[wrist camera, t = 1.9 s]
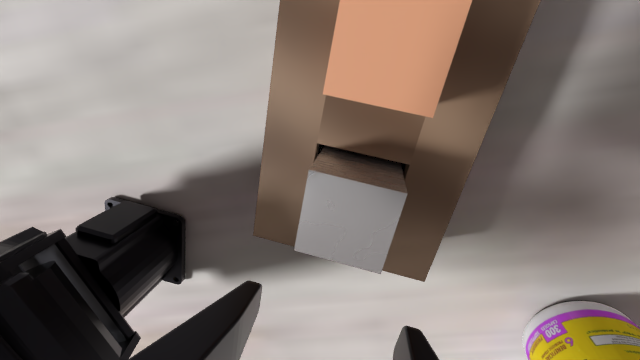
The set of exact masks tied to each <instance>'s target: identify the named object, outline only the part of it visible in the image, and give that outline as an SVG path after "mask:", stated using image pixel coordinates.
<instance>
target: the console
mask: <svg viewBox="0 0 640 360" xmlns="http://www.w3.org/2000/svg"><path fill="white" fill-rule="evenodd" d="M540 1H541V0H472V3H471V6H470V9H469V12H468V15H467V18H466V21H465V24H464V27H463V30H462V33H461V36H460V39H459V42H458V45H457V48H456V51H455V54H454V57H453V60H452V63H451V66H450V69H449V72H448V74H447V77H446V80H445V83H444V86H443V89H442V92H441V95H440V98H439V101H438V104H437V107H436V110H435V113H434V116H433V118H431V117H426V116H421V115H417V114H412V113H407V112H403V111H398V110H393V109H389V108H384V107H380V106H375V105H370V104H366V103H361V102H356V101H352V100H347V99H342V98H338V97H333V96H329V95H324V94H323V90H324V84H325V79H326V73H327V68H328V62H329V57H330V51H331V46H332V40H333V35H334V30H335V24H336V19H337V13H338V8H339V2H340V0H280V6H279V14H278V23H277V32H276V40H275V49H274V58H273V66H272V75H271V84H270V93H269V101H268V110H267V119H266V127H265V136H264V145H263V153H262V162H261V171H260V179H259V188H258V197H257V206H256V214H255V223H254V232H253V236H257V237H260V238H264V239H268V240H272V241H275V242H279V243H283V244H286V245H290V246H294V247H295V242H296V237H297V231H298V226H299V220H300V215H301V210H302V204H303V199H304V193H305V188H306V182H307V177H308V171H309V169H310V167H311V166H312V164H313V163H314V161H315V160H316V158H317V155H318V150H319V144H323V145H327V146H331V147H336V148H340V149H344V150H348V151H353V152H357V153H361V154H366V155H370V156H374V157H379V158H383V159H387V160H391V161H396V162H400V163H404V164H406V166H405V170H404V173H403V176H404V181H405V185H406V189H407V197H406V200H405V203H404V206H403V209H402V212H401V215H400V218H399V221H398V224H397V227H396V230H395V233H394V236H393V239H392V242H391V245H390V248H389V251H388V254H387V257H386V260H385V263H384V266H383V269H382V270H383V271H386V272H390V273H394V274H397V275H401V276H405V277H408V278H412V279H416V280H420V281H423V282H425V279H426V277H427V274H428V272H429V270H430V267H431V265H432V262H433V260H434V257H435V255H436V253H437V250H438V248H439V245H440V243H441V240H442V238H443V236H444V233H445V231H446V228H447V226H448V224H449V221H450V219H451V216H452V214H453V211H454V209H455V207H456V204H457V202H458V199H459V197H460V194H461V192H462V190H463V187H464V185H465V182H466V180H467V178H468V175H469V173H470V170H471V168H472V165H473V163H474V161H475V158H476V156H477V153H478V151H479V148H480V146H481V144H482V141H483V139H484V136H485V134H486V132H487V129H488V127H489V124H490V122H491V119H492V117H493V115H494V112H495V110H496V107H497V105H498V102H499V100H500V98H501V95H502V93H503V90H504V88H505V86H506V83H507V81H508V78H509V76H510V73H511V71H512V69H513V66H514V64H515V61H516V59H517V56H518V54H519V52H520V49H521V47H522V44H523V42H524V39H525V37H526V35H527V32H528V30H529V27H530V25H531V23H532V20H533V18H534V15H535V13H536V10H537V8H538V6H539V3H540Z"/></svg>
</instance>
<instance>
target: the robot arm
mask: <svg viewBox="0 0 640 360" xmlns="http://www.w3.org/2000/svg"><path fill="white" fill-rule="evenodd" d="M177 221H178V222H179V223H177ZM65 237H66V236H65V234H64V233H63V231H62V230H61V229H59V230H57V231H54V232H52V233H49V234H46V232H42V231H40V230H38V229H36V228H34V227H31V228H29V229H27V230H24V231H22V232H20V233H18V234H16V235H14V236H12V237H9V238H7V239H5V240H3V241H1V242H0V360H239V359H240V357H241V354H242V352H243V349H244V347H245V344H246V342H247V339H248V337H249V334H250V332H251V329H252V327H253V324H254V322H255V319H256V317H257V314H258V311H259V306H260V300H261V293H262V285H261V284H260V283H256V282H253V281H246V282H244V283H243V284H241V285H240V286H238V287H237V288H235V289H234V290H232V291H231V292H229V293H228V294H226V295H225V296H223V297H222V298H220V299H219V300H217V301H216V302H214V303H213V304H211V305H210V306H208V307H207V308H205V309H204V310H202V311H201V312H199V313H198V314H196V315H195V316H193V317H192V318H190V319H189V320H187V321H186V322H184V323H183V324H181V325H180V326H178V327H177V328H175V329H174V330H172V331H171V332H169V333H167V334H166V335H164V336H163V337H161V338H160V339H158V340H157V341H155V342H154V343H152V344H151V345H149V346H148V347H146V348H145V349H143V350H142V351H140V352H139V353H137V354H136V355H134V356H133V357H131V358H130V359H129V357H130V356H131V354H132V352H133V351H134V349H135V347H136V345H137V344H138V342H139V340H140V339H141V337H140V336H139V335H138V333H137V332H136V331H135V332H134V331H133V329H132V328H131V327H130V325H129V324H128V323H127V321H126V320H125V319H124V317H125V316H126V315H127V314H128V313H129V312H130V311H131V310H132V309H133V308H134V307H135V306H136V305H137V304H138V303H139V302H140V301H141V300H142V299H143V298H144V297H145V296H146V295H147V294H148V293H149V292H151V291H152V290H153V289H154V288H155V287H156V286H157V285H158V284H159V283H160V282H161V281H162V280H164V281H167V282H170V283H174V284H180V283H181V282H182V281H183V280H184V278H185V220H184V218H183V217H182V216H180V215H177V214H174V213H170V212H166V211H162V210H159V209H155V208H153V207H149V206H145V205H142V204H138V203H134V202H130V201H127V200H122V199H118V198H114V197H111V198H109V199H107V200H106V201H105V211H104V212H102V213H101V214H99V215H97V216H95V217H93V218H91V219H89V220H87V221H86V222H84V223H82V224H80V225H79V226H77V227H76V232H75V233H73V234H71V235H69V236H67V237H66V238H65ZM393 360H439V358H438V357H437V355H436V354H435V352H434V351H433V349H432V347H431V346H430V344H429V343H428V341H427V339H426V338H425V336H424V335H423V333H422V332H421V331H420V330H419V329H416V328H413V327H409V326H404V327H403V328H402V331H401V333H400V335H399V338H398V340H397V343H396V345H395V348H394V353H393Z"/></svg>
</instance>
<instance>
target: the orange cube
mask: <svg viewBox="0 0 640 360" xmlns="http://www.w3.org/2000/svg"><path fill="white" fill-rule="evenodd" d="M471 3H472V0H340V2H339V8H338V13H337V19H336V24H335V30H334V35H333V40H332V46H331V51H330V57H329V62H328V68H327V73H326V79H325V84H324V90H323V94H324V95H329V96H333V97H338V98H342V99H347V100H352V101H356V102H361V103H366V104H370V105H375V106H380V107H384V108H389V109H393V110H398V111H403V112H407V113H412V114H417V115H421V116H426V117H431V118H433V116H434V113H435V110H436V107H437V104H438V101H439V98H440V95H441V92H442V89H443V86H444V83H445V80H446V77H447V74H448V72H449V69H450V66H451V63H452V60H453V57H454V54H455V51H456V48H457V45H458V42H459V39H460V36H461V33H462V30H463V27H464V24H465V21H466V18H467V15H468V12H469V9H470V6H471Z"/></svg>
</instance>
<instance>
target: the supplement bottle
mask: <svg viewBox="0 0 640 360" xmlns="http://www.w3.org/2000/svg"><path fill="white" fill-rule="evenodd" d="M522 342H523V348H524V351H525V354H526V356H527V358H528V360H640V328H639V327H638V326H637V325H636V324H635V323H634V322H633V321H632V320H631V319H630V318H628V317H627V316H626V315H624V314H623V313H622V312H620V311H618V310H616V309H614V308H612V307H610V306H607V305H604V304H601V303H596V302H588V301H571V302H564V303H560V304H556V305H553V306H550V307H548V308H546V309H544V310H542V311H540V312H539V313H538V314H536V315H535V316H534V317H533V318H532V319H531V320H530V321H529V323H528V324H527V326H526V327H525V330H524V333H523V338H522Z"/></svg>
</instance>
